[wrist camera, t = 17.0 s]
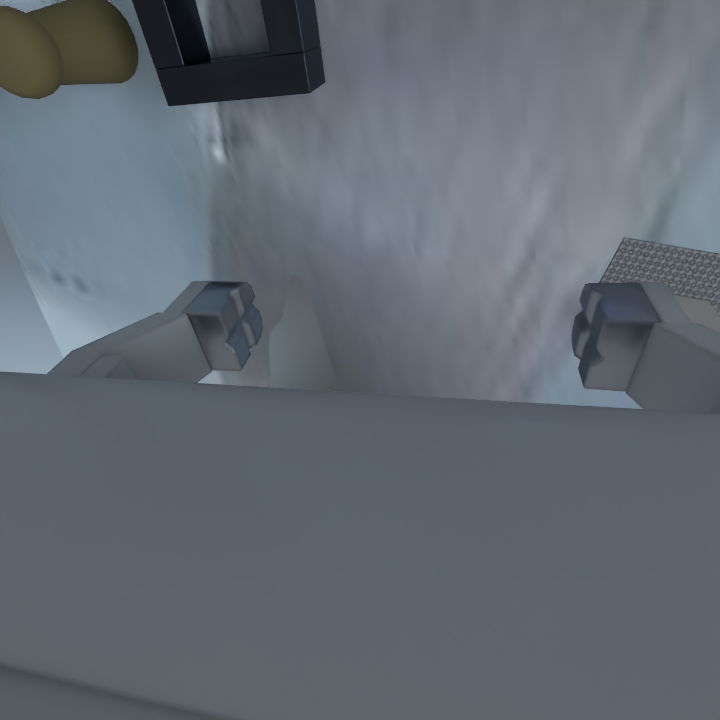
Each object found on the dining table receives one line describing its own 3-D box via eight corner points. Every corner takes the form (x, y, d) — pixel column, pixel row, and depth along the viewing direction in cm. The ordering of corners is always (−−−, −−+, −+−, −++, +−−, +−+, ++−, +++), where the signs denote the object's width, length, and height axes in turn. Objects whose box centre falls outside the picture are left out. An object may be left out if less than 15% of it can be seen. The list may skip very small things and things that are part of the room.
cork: (92, 87, 39) (-7, 114, 31) (53, 1, 35) (-72, 6, 27) (150, 78, 38) (61, 104, 29) (116, -12, 34) (3, -11, 26)
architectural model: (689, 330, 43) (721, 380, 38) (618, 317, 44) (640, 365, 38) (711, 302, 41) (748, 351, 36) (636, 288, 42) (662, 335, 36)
